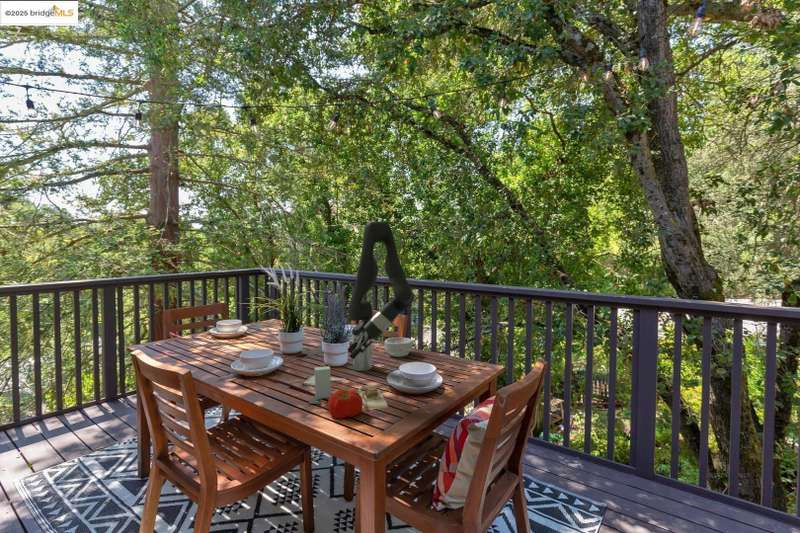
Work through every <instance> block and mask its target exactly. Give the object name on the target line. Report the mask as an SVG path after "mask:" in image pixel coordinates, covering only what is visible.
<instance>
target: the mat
mask: <svg viewBox="0 0 800 533" xmlns="http://www.w3.org/2000/svg"><path fill="white" fill-rule="evenodd" d="M309 404H316V405H315V406H322V398H321V399H318V400H316V397H315V395H314V396H313V397H312V399H310V401H308V405H309Z"/></svg>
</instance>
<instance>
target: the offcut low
mask: <svg viewBox="0 0 800 533" xmlns="http://www.w3.org/2000/svg"><path fill="white" fill-rule="evenodd" d="M363 391H364V393H365V395H366V398H371V397H377V392H376V393H371V394H369V393H368V392H366V391H365V390H363Z"/></svg>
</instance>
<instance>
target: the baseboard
mask: <svg viewBox="0 0 800 533" xmlns="http://www.w3.org/2000/svg"><path fill="white" fill-rule="evenodd" d="M307 378H308V379H307ZM330 378H331V381H332V382H333V381H341V380H343V381H344V380H345V378H343V377H342V378H341V377H332V376H330ZM305 379H306V380H305V381H303V383H307V384H311V385H315V372H314V373H313V374H312V375H311V376H310V378H309V376H306V378H305Z"/></svg>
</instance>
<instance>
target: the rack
mask: <svg viewBox="0 0 800 533" xmlns="http://www.w3.org/2000/svg"><path fill="white" fill-rule="evenodd" d="M357 393H358V394H359V395H360V396H361V398H362V402H363V404H362V408H363V409H364V411H371V410H379V409H389V408H390V407H389V405H388V403H387V401H386V400H385V398H384V396H383V393H382V392H381V389H377V397H371V398H366V395H365V393H364V390H363V391H362V389H361V388H360V387H359V388H358V391H357Z"/></svg>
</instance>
